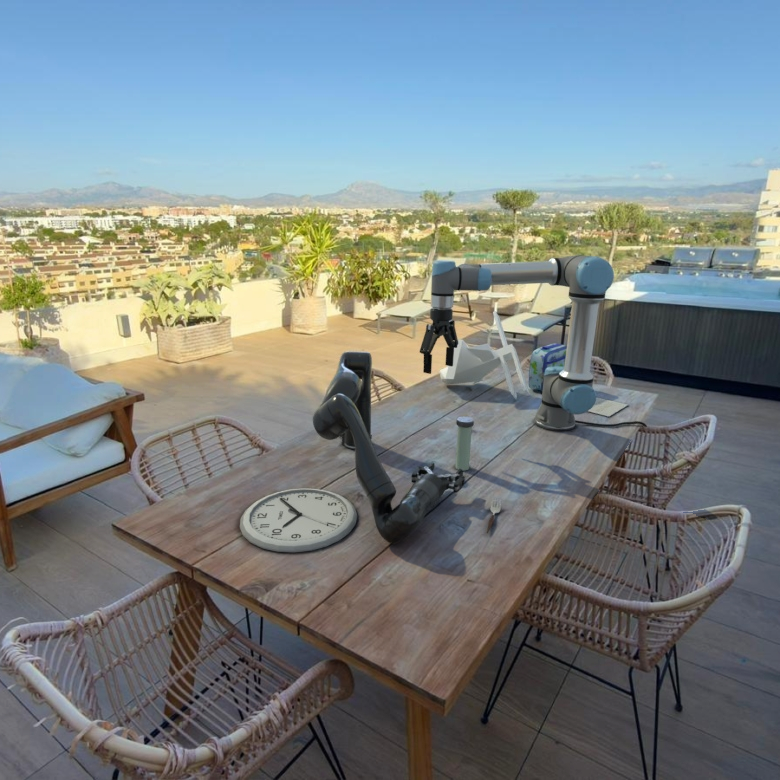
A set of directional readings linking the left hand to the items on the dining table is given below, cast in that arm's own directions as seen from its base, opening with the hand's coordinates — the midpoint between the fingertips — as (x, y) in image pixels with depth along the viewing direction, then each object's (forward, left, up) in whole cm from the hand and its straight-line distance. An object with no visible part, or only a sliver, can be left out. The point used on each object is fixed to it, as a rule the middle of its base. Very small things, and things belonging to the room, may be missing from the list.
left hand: (446, 468), depth 153 cm
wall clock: (-27, -35, -6) cm, 45 cm away
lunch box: (+8, +118, -6) cm, 119 cm away
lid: (0, +15, +10) cm, 18 cm away
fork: (+17, -11, -6) cm, 22 cm away
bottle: (0, +15, -6) cm, 16 cm away
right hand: (-16, +33, +20) cm, 42 cm away
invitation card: (+34, +101, -6) cm, 106 cm away
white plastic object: (-19, +94, -6) cm, 97 cm away
